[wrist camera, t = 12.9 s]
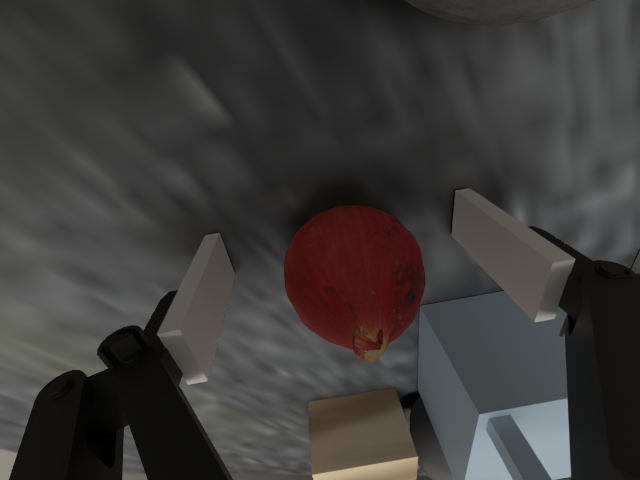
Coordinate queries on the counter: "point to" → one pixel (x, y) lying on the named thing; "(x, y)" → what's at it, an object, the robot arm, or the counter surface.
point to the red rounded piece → (355, 278)
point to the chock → (361, 438)
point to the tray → (636, 265)
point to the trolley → (490, 392)
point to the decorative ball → (494, 10)
